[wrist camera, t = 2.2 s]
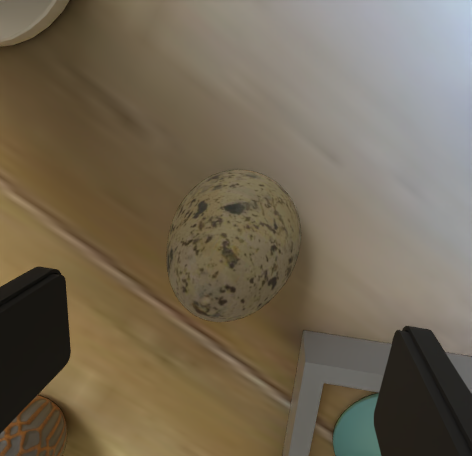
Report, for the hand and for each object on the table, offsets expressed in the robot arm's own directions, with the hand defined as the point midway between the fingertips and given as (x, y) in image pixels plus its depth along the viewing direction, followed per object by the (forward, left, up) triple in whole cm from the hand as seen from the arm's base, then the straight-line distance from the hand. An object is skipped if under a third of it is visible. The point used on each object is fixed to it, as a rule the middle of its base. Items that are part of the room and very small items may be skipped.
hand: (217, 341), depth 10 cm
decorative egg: (-1, -1, -12) cm, 12 cm away
